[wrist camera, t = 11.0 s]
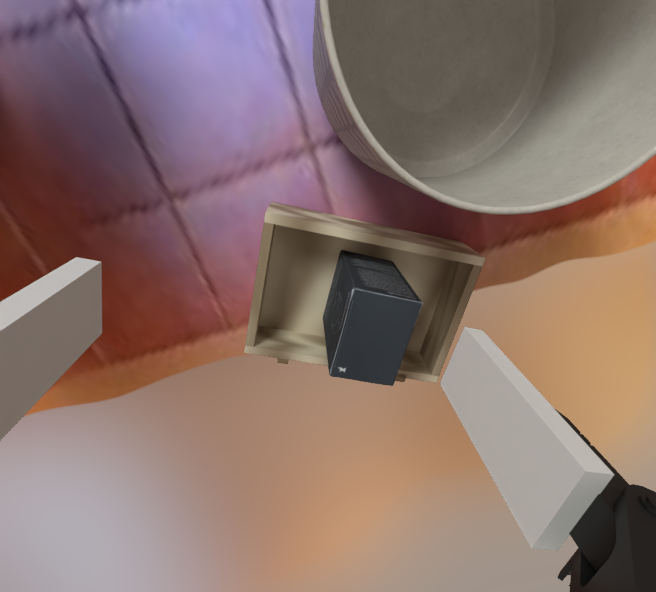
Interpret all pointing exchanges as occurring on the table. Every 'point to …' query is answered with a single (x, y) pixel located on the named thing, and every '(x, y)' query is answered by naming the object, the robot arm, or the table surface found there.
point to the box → (368, 319)
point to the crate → (317, 274)
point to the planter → (491, 95)
